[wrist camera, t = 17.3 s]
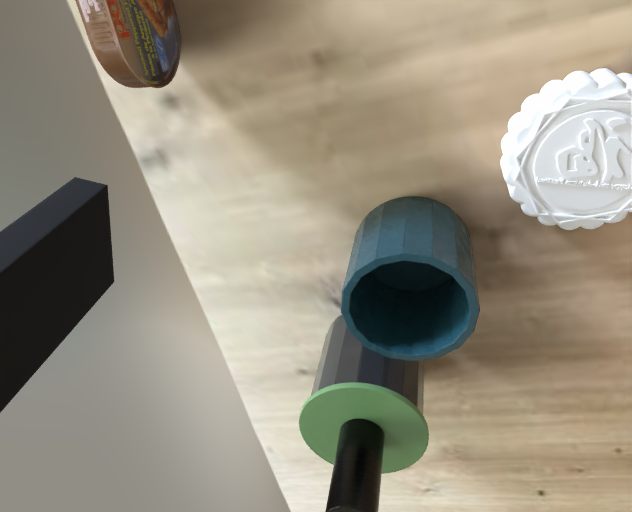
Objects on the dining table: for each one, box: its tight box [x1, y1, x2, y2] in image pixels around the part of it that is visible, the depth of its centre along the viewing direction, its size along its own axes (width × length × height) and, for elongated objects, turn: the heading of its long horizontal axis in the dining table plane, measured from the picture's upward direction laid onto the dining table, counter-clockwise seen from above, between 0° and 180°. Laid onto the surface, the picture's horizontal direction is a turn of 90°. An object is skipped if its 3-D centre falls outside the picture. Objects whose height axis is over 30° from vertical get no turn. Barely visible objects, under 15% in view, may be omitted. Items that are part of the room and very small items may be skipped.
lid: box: [299, 382, 429, 512], centre depth 44 cm, size 12×12×10 cm
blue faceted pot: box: [341, 197, 480, 361], centre depth 45 cm, size 11×11×10 cm
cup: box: [311, 315, 424, 415], centre depth 51 cm, size 10×10×11 cm
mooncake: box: [500, 68, 632, 230], centre depth 39 cm, size 12×12×4 cm
